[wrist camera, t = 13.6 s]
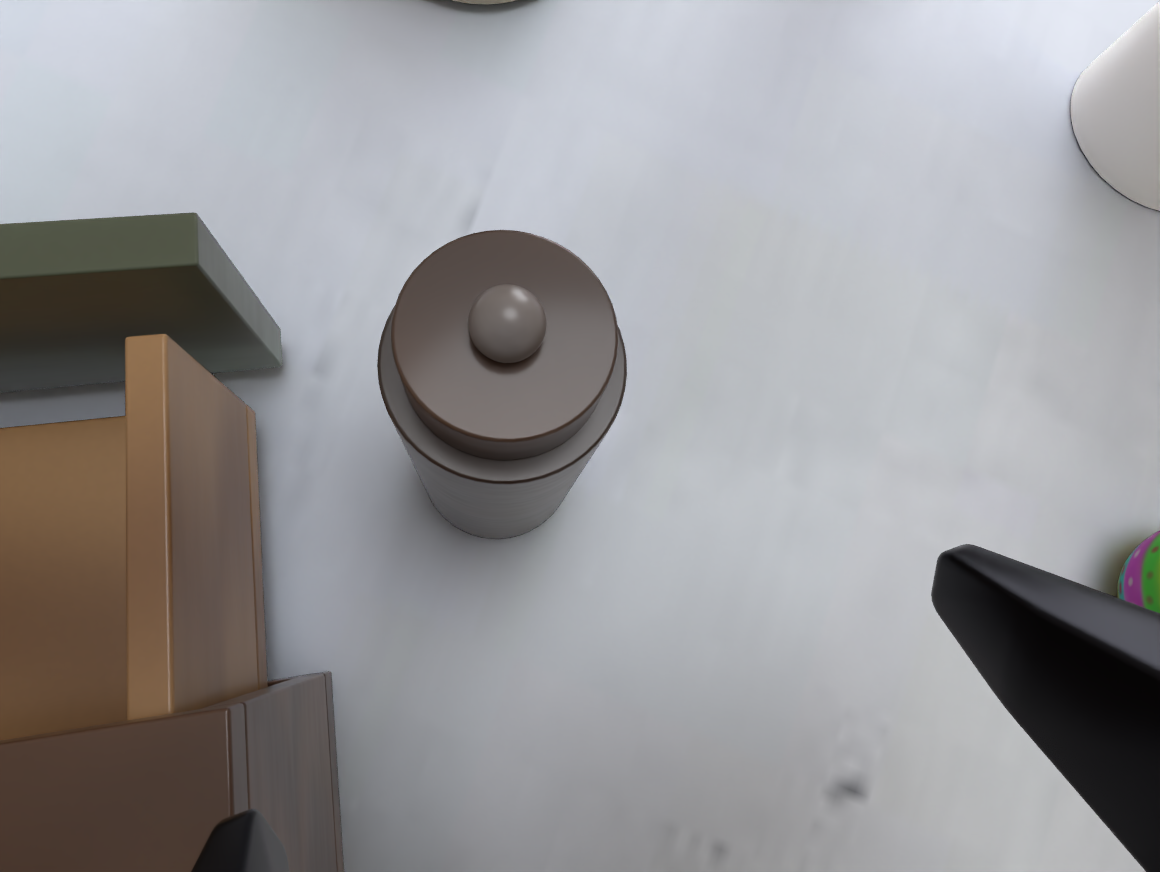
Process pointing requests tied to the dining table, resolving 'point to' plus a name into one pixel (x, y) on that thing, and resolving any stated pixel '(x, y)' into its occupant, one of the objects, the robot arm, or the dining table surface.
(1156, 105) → the cylindrical container
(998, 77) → the dining table surface
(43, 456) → the drawer
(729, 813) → the dining table surface
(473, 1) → the travel mug
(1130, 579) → the egg
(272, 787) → the cabinet
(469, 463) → the lidded jar
